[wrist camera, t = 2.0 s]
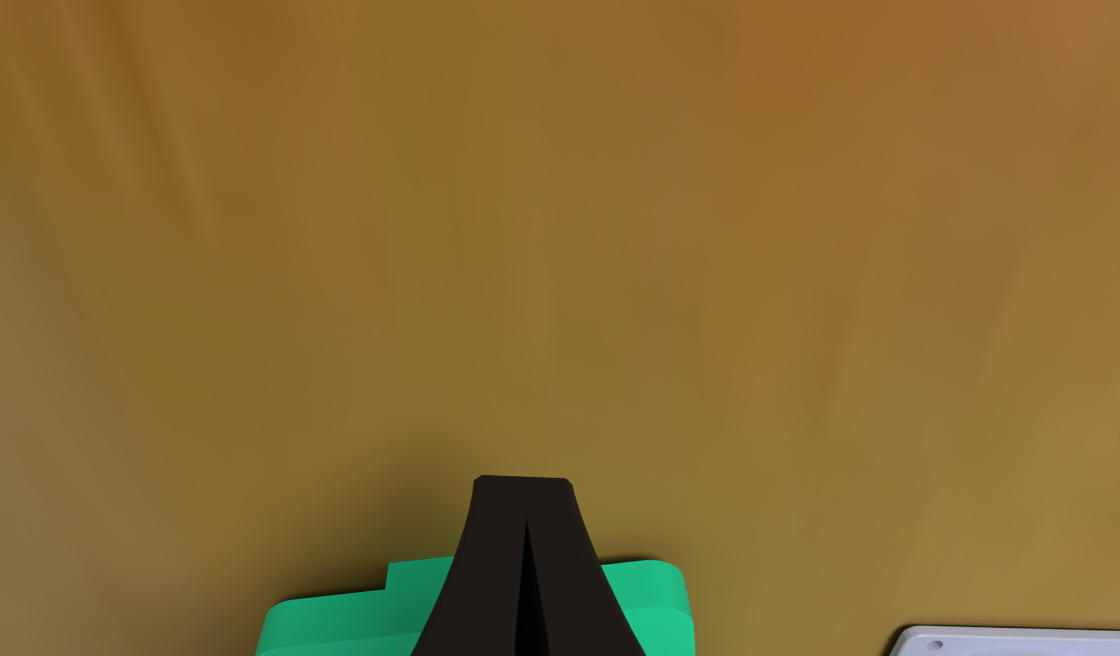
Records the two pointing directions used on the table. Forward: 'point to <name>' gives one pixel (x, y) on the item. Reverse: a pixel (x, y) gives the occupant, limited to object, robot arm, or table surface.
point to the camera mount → (413, 588)
